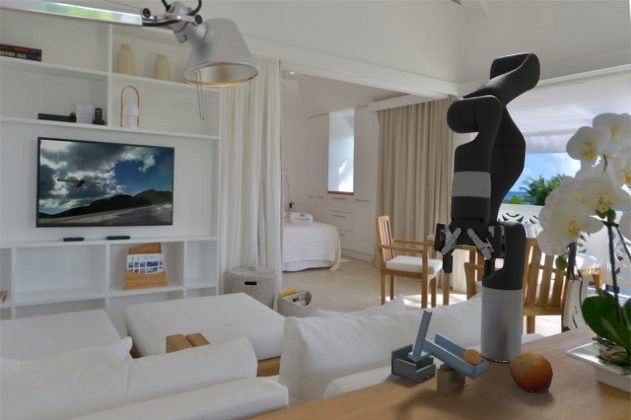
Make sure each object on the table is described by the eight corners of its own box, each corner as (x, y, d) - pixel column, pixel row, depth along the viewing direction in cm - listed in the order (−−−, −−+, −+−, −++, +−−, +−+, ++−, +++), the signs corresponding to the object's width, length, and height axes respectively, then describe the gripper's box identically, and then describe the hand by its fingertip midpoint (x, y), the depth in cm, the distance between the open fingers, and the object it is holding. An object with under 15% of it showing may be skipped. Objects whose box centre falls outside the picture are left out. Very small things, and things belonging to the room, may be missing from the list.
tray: (410, 365, 101) (410, 343, 101) (435, 373, 96) (436, 351, 96) (391, 373, 96) (391, 350, 96) (417, 382, 91) (417, 359, 91)
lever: (435, 342, 95) (446, 299, 93) (486, 372, 87) (500, 325, 85) (404, 354, 88) (416, 307, 85) (457, 388, 79) (472, 337, 77)
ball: (466, 360, 89) (469, 344, 88) (483, 368, 86) (486, 351, 86) (458, 365, 86) (460, 348, 86) (474, 372, 84) (477, 355, 83)
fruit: (569, 391, 84) (546, 354, 85) (531, 408, 86) (509, 372, 86) (555, 375, 92) (534, 341, 93) (520, 391, 94) (500, 358, 94)
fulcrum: (454, 380, 93) (454, 354, 93) (465, 383, 91) (466, 357, 91) (436, 389, 88) (436, 362, 88) (447, 394, 86) (448, 366, 86)
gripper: (513, 197, 86) (510, 279, 86) (448, 197, 96) (445, 270, 96) (497, 194, 81) (493, 281, 80) (429, 194, 91) (426, 272, 91)
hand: (467, 275), depth 88 cm, fingers open, 8 cm apart
